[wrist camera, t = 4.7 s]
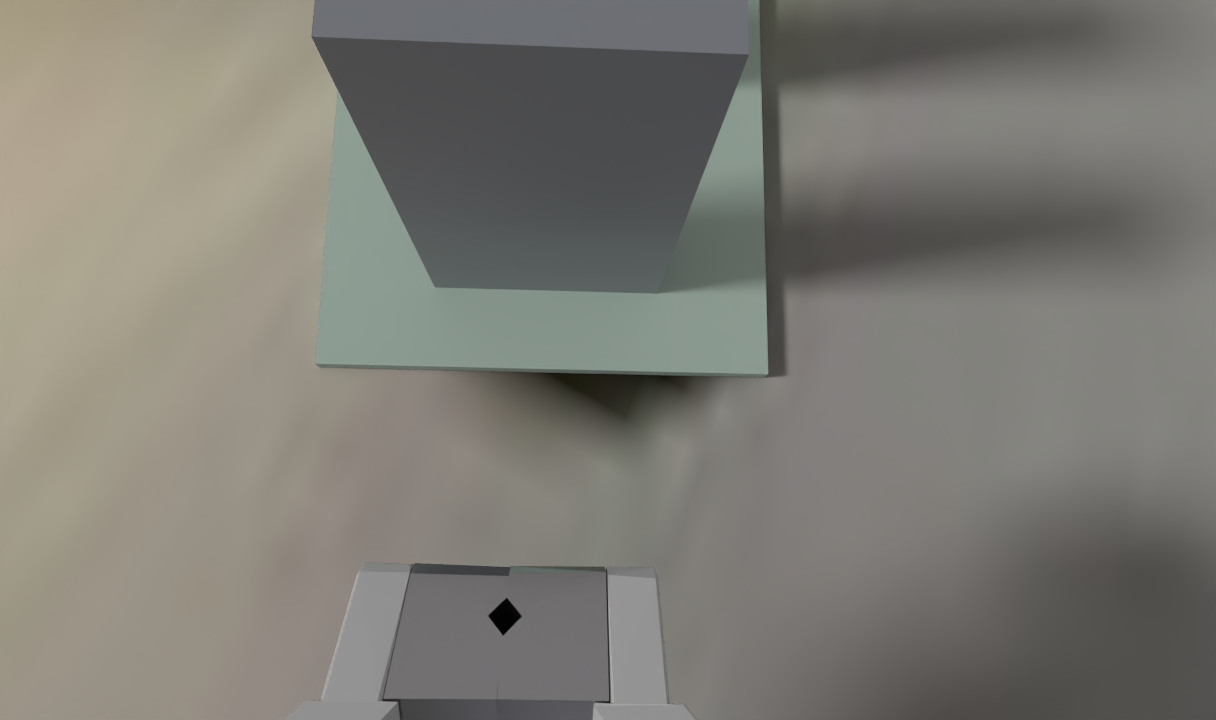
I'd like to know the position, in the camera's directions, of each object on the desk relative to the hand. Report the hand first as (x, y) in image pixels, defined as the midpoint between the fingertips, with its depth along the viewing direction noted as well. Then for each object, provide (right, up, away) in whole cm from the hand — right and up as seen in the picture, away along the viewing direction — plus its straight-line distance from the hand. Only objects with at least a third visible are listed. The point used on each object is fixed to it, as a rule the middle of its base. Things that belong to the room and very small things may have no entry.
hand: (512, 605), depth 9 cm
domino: (0, +5, +11) cm, 12 cm away
